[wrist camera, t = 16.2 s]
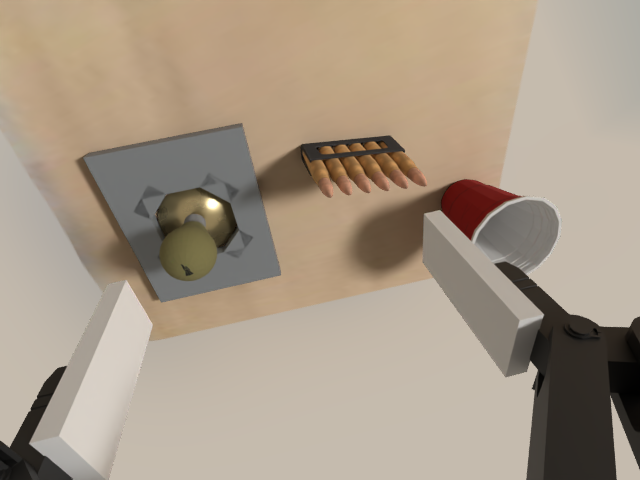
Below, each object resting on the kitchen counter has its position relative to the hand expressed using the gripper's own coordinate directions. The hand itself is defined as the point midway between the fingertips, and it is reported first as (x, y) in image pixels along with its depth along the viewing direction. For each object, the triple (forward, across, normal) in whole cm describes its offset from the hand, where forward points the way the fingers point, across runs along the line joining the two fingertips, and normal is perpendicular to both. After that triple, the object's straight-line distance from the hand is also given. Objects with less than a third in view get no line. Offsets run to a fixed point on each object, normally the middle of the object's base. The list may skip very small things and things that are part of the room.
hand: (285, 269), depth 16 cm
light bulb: (+27, -10, -10) cm, 30 cm away
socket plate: (+27, -10, -10) cm, 30 cm away
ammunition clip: (+27, +9, -5) cm, 29 cm away
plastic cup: (+27, +24, -15) cm, 39 cm away
